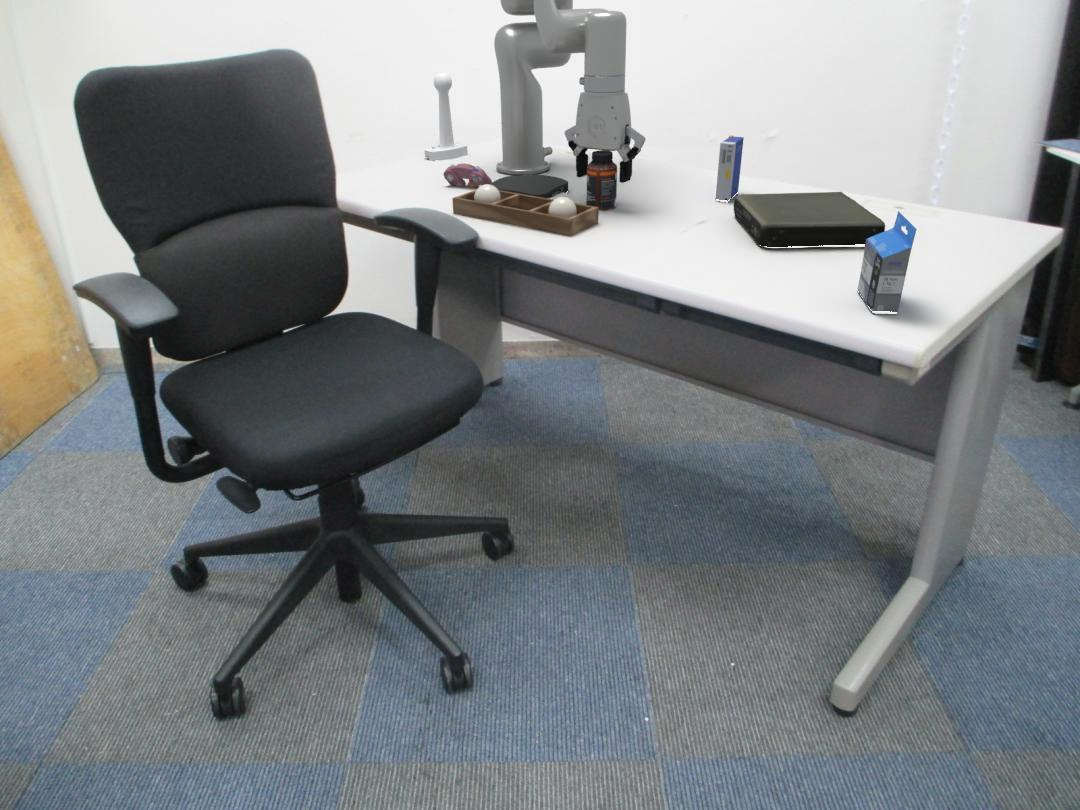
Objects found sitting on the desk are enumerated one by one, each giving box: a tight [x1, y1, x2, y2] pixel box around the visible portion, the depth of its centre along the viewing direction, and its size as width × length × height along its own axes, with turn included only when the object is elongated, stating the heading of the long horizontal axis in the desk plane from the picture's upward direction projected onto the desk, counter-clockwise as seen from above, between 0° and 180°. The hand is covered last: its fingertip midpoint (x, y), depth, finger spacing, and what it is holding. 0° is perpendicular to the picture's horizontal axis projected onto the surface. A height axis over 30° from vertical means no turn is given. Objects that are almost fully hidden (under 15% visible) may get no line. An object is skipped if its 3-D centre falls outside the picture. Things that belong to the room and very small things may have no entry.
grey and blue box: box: [857, 210, 917, 313], centre depth 116 cm, size 9×4×12 cm, turn 175°
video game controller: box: [443, 162, 493, 189], centre depth 178 cm, size 10×5×7 cm, turn 68°
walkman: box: [715, 135, 744, 201], centre depth 167 cm, size 8×3×12 cm, turn 153°
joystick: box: [423, 72, 468, 162], centre depth 204 cm, size 11×8×20 cm
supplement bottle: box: [586, 150, 618, 212], centre depth 160 cm, size 6×6×11 cm
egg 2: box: [548, 196, 577, 218], centre depth 150 cm, size 5×5×5 cm
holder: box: [452, 189, 600, 238], centre depth 156 cm, size 10×27×4 cm, turn 55°
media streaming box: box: [490, 174, 569, 199], centre depth 175 cm, size 15×15×3 cm
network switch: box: [733, 191, 886, 247], centre depth 148 cm, size 23×23×5 cm
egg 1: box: [474, 184, 501, 204], centre depth 159 cm, size 5×5×5 cm
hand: (603, 178), depth 160 cm, fingers open, 9 cm apart
